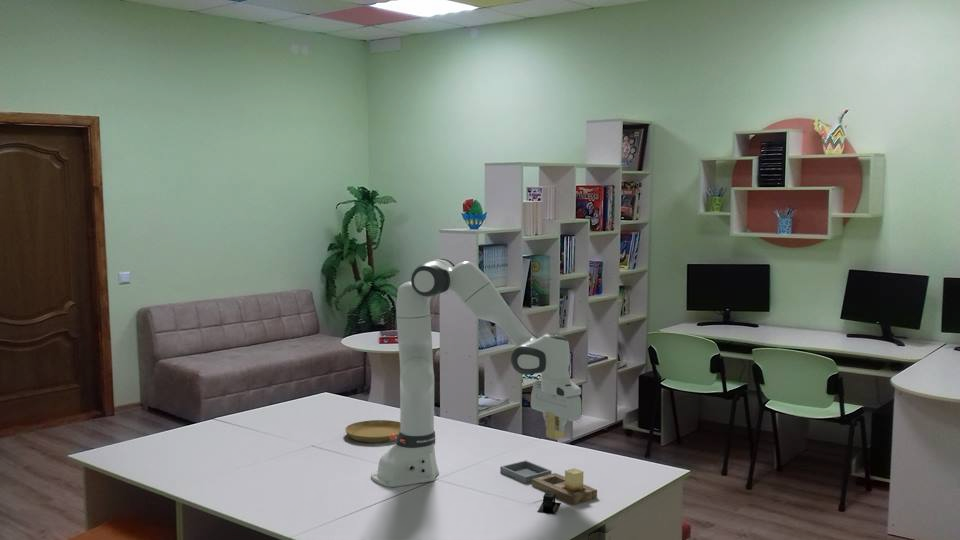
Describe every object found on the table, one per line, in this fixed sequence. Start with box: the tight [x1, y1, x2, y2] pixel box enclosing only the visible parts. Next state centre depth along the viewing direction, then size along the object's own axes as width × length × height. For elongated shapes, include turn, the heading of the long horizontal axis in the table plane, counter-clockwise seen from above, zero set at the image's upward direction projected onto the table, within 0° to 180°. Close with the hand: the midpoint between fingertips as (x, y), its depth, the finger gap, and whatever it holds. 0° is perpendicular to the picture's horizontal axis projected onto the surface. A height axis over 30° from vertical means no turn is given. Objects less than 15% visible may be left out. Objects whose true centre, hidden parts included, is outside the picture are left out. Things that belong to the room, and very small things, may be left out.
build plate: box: [536, 491, 562, 515], centre depth 246 cm, size 12×7×5 cm, turn 164°
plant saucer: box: [344, 419, 400, 444], centre depth 319 cm, size 24×24×3 cm
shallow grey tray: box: [499, 460, 552, 485], centre depth 274 cm, size 11×13×2 cm
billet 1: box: [545, 412, 565, 440], centre depth 261 cm, size 4×4×8 cm
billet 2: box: [564, 468, 584, 493], centre depth 255 cm, size 4×4×8 cm
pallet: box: [531, 472, 598, 506], centre depth 259 cm, size 10×19×2 cm, turn 37°
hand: (554, 428), depth 261 cm, fingers closed on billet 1, 4 cm apart
